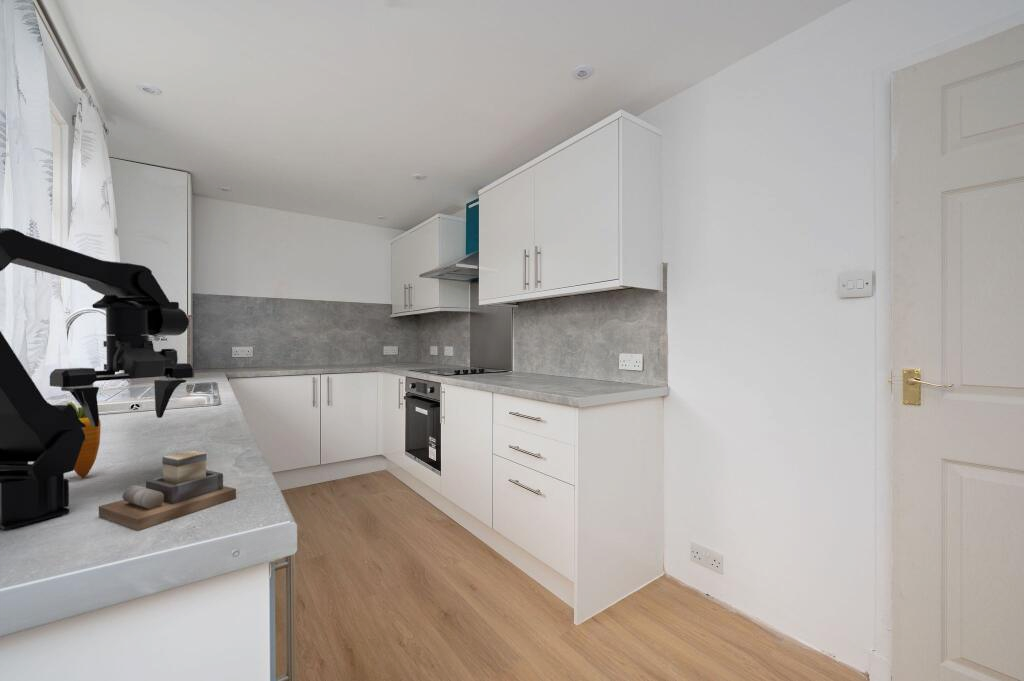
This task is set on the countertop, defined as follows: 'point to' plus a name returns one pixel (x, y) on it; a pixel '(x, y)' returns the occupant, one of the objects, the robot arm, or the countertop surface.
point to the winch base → (166, 501)
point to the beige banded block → (184, 467)
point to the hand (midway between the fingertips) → (129, 421)
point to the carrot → (87, 444)
